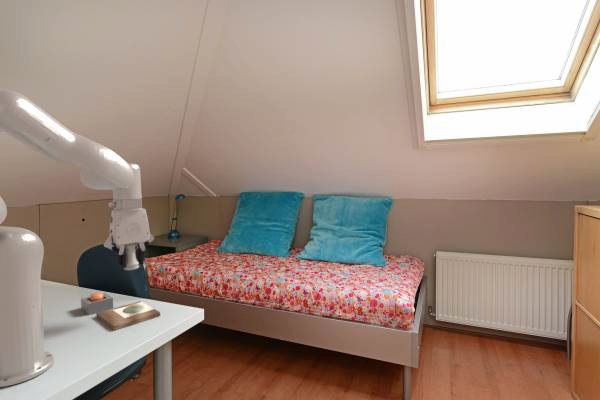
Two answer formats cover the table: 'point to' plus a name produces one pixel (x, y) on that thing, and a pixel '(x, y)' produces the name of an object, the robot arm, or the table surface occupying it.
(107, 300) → the button base
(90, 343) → the table surface
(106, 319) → the board
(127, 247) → the rook chess piece
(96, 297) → the button
